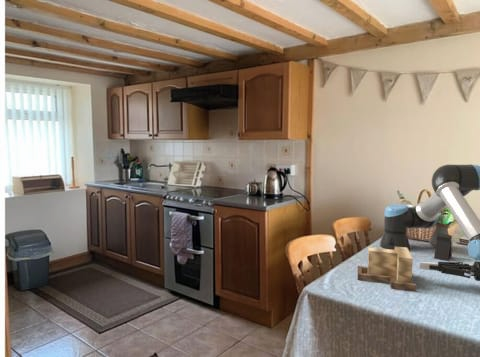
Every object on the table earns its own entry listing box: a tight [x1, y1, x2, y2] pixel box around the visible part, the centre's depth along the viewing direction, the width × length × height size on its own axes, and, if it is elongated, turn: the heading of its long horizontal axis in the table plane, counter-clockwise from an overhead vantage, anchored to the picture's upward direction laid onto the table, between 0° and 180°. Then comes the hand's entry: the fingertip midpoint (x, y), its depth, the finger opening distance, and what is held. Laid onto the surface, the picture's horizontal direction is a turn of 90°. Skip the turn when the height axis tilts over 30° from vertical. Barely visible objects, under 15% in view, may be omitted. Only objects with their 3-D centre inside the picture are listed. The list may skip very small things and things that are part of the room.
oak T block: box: [367, 247, 414, 283], centre depth 154 cm, size 16×16×12 cm
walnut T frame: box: [357, 265, 417, 293], centre depth 154 cm, size 22×22×2 cm
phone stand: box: [433, 233, 453, 262], centre depth 183 cm, size 9×6×12 cm, turn 138°
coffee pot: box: [428, 217, 453, 249], centre depth 206 cm, size 21×12×15 cm, turn 151°
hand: (420, 265), depth 149 cm, fingers closed
